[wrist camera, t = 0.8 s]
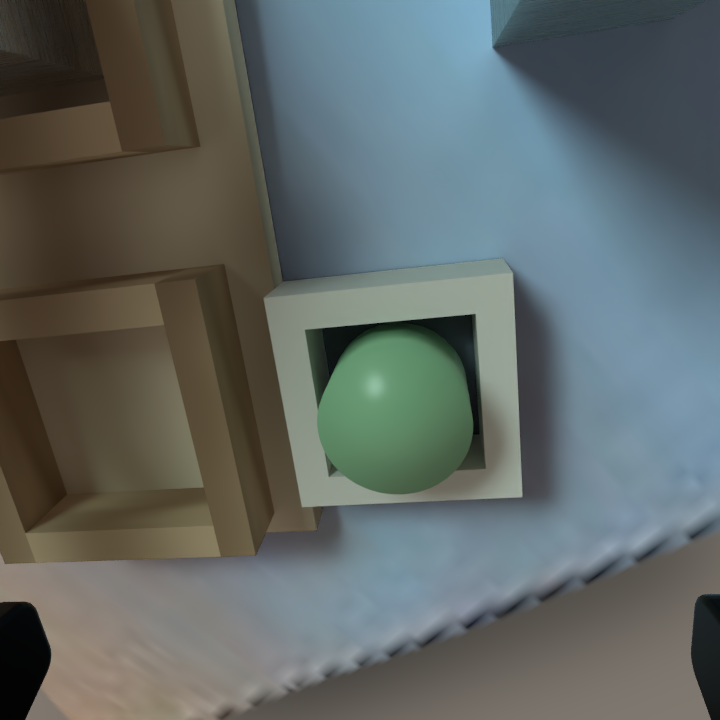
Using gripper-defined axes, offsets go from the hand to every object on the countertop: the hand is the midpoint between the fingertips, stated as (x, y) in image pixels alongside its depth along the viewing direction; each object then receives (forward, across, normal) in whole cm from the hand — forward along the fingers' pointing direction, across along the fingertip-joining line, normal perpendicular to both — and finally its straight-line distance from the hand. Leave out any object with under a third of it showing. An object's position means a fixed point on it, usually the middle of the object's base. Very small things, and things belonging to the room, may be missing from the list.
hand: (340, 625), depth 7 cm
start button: (+9, 0, 0) cm, 9 cm away
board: (+10, +8, -4) cm, 13 cm away
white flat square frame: (+10, 0, 0) cm, 10 cm away
